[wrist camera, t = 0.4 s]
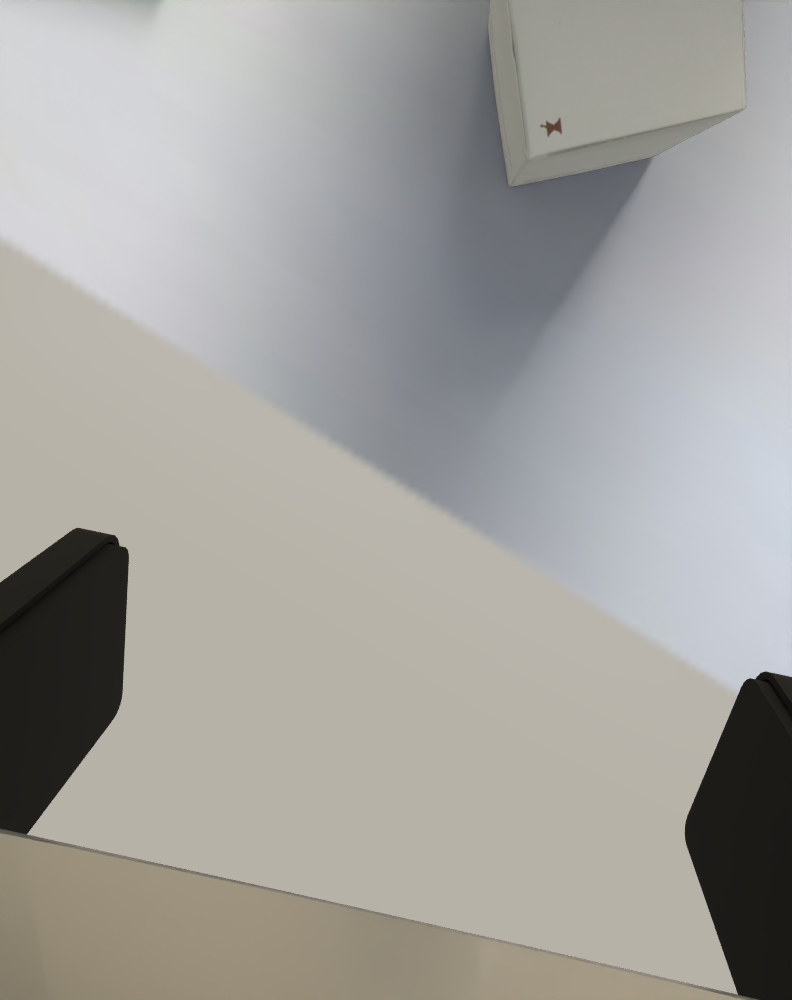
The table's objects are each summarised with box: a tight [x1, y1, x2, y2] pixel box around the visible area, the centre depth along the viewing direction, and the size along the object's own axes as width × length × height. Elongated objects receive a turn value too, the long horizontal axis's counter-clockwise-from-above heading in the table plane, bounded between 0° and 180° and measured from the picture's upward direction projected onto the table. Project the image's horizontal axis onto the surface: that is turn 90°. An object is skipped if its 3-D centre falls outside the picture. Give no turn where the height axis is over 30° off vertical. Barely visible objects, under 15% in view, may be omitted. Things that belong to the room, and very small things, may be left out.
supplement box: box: [488, 0, 746, 187], centre depth 28 cm, size 7×7×13 cm
